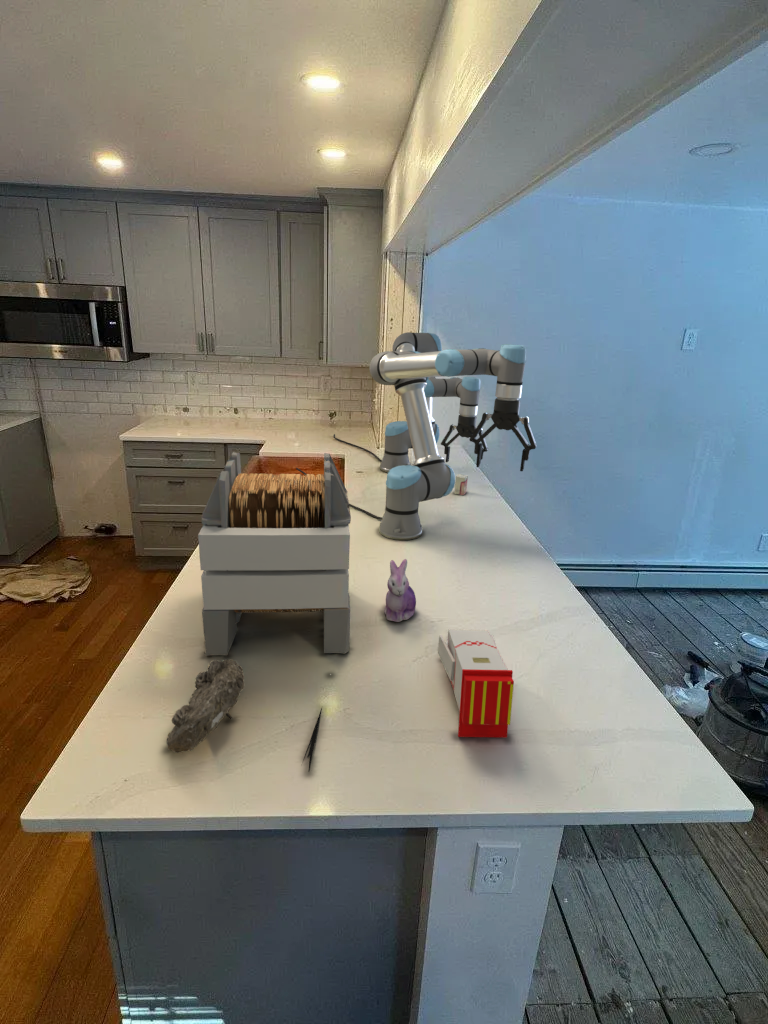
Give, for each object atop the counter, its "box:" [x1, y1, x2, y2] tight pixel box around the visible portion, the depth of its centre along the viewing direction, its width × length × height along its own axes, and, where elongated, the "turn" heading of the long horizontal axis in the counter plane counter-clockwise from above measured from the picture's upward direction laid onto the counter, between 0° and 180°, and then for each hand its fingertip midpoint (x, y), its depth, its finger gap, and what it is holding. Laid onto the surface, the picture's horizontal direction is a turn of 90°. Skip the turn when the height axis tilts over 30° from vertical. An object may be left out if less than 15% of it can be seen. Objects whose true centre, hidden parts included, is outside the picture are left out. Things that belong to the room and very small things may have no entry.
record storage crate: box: [197, 451, 352, 657], centre depth 136 cm, size 34×33×41 cm
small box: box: [454, 473, 469, 496], centre depth 246 cm, size 5×4×8 cm
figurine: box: [384, 558, 417, 623], centre depth 145 cm, size 9×10×15 cm
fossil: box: [166, 658, 245, 754], centre depth 106 cm, size 22×10×15 cm
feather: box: [301, 673, 332, 771], centre depth 108 cm, size 2×28×2 cm
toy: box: [437, 628, 515, 738], centre depth 117 cm, size 12×13×30 cm
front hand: (499, 467), depth 176 cm, fingers open, 13 cm apart
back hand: (462, 464), depth 244 cm, fingers open, 13 cm apart
